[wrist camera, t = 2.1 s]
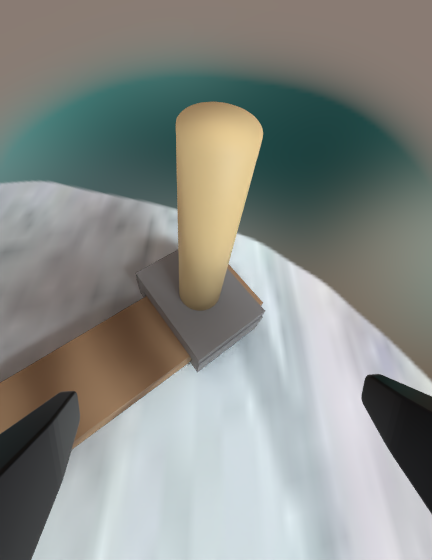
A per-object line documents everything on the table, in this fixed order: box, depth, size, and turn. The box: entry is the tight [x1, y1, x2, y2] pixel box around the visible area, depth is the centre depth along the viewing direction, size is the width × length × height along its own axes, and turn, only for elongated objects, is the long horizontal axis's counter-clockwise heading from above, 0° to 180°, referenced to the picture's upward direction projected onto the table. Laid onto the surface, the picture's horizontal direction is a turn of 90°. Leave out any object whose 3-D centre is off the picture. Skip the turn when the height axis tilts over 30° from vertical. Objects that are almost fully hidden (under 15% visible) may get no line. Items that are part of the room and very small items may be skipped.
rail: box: [0, 264, 263, 449], centre depth 21 cm, size 22×6×2 cm, turn 128°
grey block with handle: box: [136, 102, 265, 372], centre depth 17 cm, size 6×8×16 cm
